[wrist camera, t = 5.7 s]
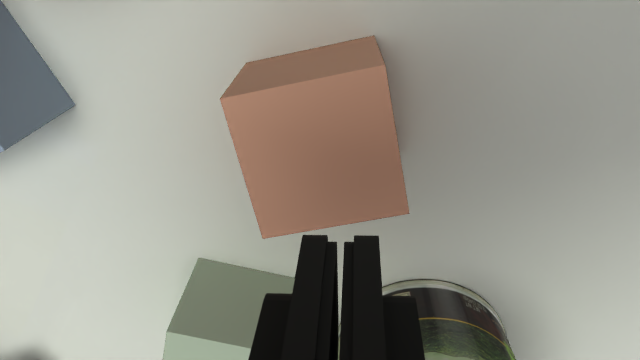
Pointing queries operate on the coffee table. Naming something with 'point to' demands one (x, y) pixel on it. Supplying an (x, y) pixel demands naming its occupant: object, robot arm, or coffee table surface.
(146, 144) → the coffee table surface
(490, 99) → the coffee table surface
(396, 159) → the terracotta block
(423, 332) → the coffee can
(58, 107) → the slate block
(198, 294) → the sage block
